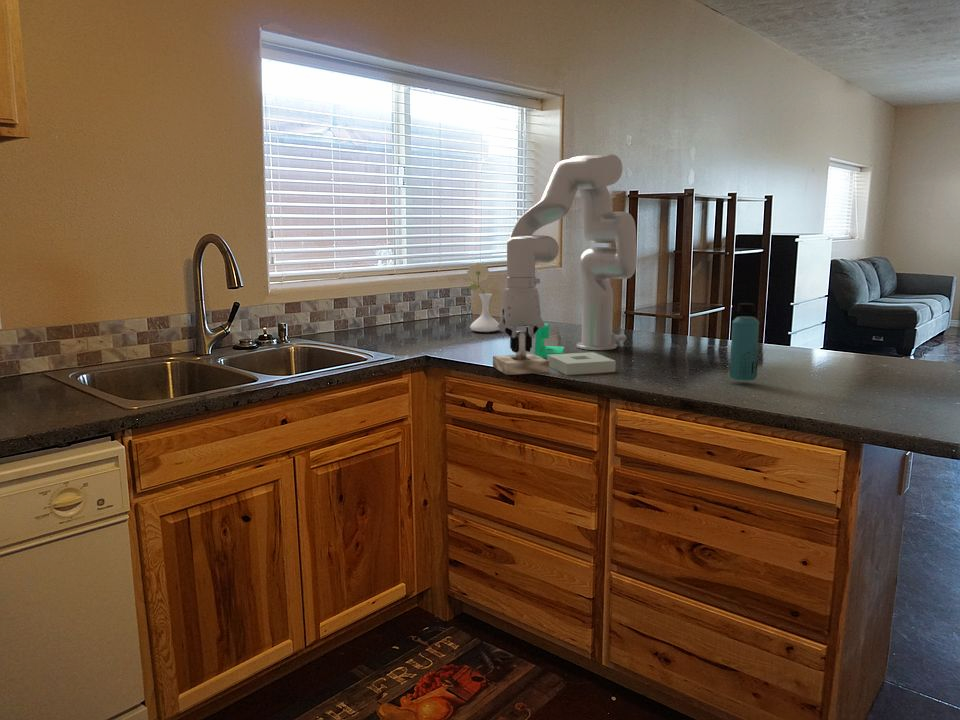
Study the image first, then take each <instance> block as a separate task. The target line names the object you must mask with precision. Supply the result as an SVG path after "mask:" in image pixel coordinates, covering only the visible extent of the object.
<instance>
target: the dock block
mask: <svg viewBox="0 0 960 720" xmlns="http://www.w3.org/2000/svg"><path fill="white" fill-rule="evenodd" d="M546 360H548V361H549V368H552V369H554V370H556V371H558V372H560V373H562V374H564V375H566V376H571V375H586V374H601V373H616V363H617V362H616V361H617V360H614V359H612V358H609V357H608V356H604V355H602V354H600V353H597V352H594V351H592V352H573V353H570V352H569V353H564V354H553V355H547V359H546Z"/></svg>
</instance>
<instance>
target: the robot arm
mask: <svg viewBox="0 0 960 720" xmlns="http://www.w3.org/2000/svg"><path fill="white" fill-rule="evenodd" d="M622 172H623V163H622V160H621V158H620V157H619V156H617V155H616V154H613V153H606V154H587V155H578V156H577V155H576V156H573V157H570V158H567V159H563V160H560V161H558V162H557V163H556V164H555V166H554V168H553V170H552V172H551V175H550V177H549V180H548V182H547V184H546V187H545V188H544V192H543V193H542V196H541V199H540V200H539V201H538V202H537V203H536V204H534V205H533V206H532V207H530V208H529V209H528V210H527V211H526V212H525V213H523V214H522V216H520V217H519V219H517V221H516V223H515V225H514V226H513V228H512V230H511V233H510V236H509V238H508V240H507V242H506V288H504V289H503V293H502V297H501V309H500V320H499V322H498V323H499V324H498V326H497V327H498V328H499V330H501V331H503V332H505V334H507V335H508V337H509V338H510V339H509V346H510V347H509V348H510V349H511V351H512V353H515V354H516V353H517V352H518V338H516V331H518V329H517V327H525V328H524V329H525V331H527V352H528V353H531V349H532V347H533V337H534V335H536V331H537V330H538V329H540V328H542V327H543V326H544V324H545V322H544V321H543V319H542V317H541V304H540V303H541V302H540V295H539V291H538V288H537V285H539V284H540V283H541V279H540V278H537V277H536V264H549V263H551V262H553V261H554V260H556V258H557V257H558V255H559V252H560V251H559V249H560V247H559V244H558V242H557V240H556V239H555V238H554V237H552V236H550V235H541V234H536V235H535V234H534V233H535V232H536V231H538V230H539V229H541V228H542V227H545V226H548V225H550V224H552V223H554V222H557V221H559V220H561V219H563V218H564V217H566V216H567V215H569V212H570V209H571V206H572V204H573V201H574V200H575V197H576V194H577V192H578V193H579V194H580V197H581V202H582V219H583V220H582V222H583V235H584V238H585V240H587V242H590V243H594V244H615V246H616V247H608V246H605V247H604V246H593V247H589V248H587V249H585V250H583V252H582V253H581V255H580V258H579V267H580V273H581V280H582V281H581V283H582V298H581V299H582V301H581V302H582V305H581V307H582V309H581V311H582V312H581V341H579V342H577V343H576V347H577V349H581V350H587V351H609V350H614V349H615V350H616V349H617V346H618V345H617V342H618V341H619V342H623V341H626V340H627V336H626V334H616V333H614V332H613V316H614V315H613V312H614V310H613V309H614V307H613V306H614V291H613V288H612V286H611V283H610V282H609V281H608V279H613V280H628V279H630V278H631V277H632V276H633V275H635V272H636V268H637V229H636V222H635V219H634V218H633V216H632V214H630V213H629V212H627V211H612V205H611V203H612V202H611V194H610V191H609V189H608V188H607V187H608V186H612V185H614V184H616V183H617V182H618V181H619V180H620V179H621V177H622Z"/></svg>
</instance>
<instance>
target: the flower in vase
mask: <svg viewBox="0 0 960 720" xmlns="http://www.w3.org/2000/svg"><path fill="white" fill-rule="evenodd" d="M466 274H467V275H468V277H469V279H471V280H472V281H475V282H477V284H475V283H473V284H471V285H470V286H469V287H467V289H468V290H472V291H477V290H478V289H480V291H481V293H478V296H479V298H480V300H481V305H482V308H481V310H482V311H481V314H480V315H479V317H477V318H476V319H475V320H474V321H473V322H472V323H470V326H469V328H470V329H471V331H475V332H478V333H479V332H480V333H491V332H493V333H494V332H497V331H499V330H500V329H499V328H498V327H497V326H498V324H499V322H498V321H497V320H496V319H495V318H493V316H492V315H491V314H490V312H489V311H490V310H489V309H490V307H489V306H490V300H491V297H492V296H493V293H489V292H488V293H485V292H484V291H486V290H489V289H491V287H492V286H493V284H490V285H488V286H485V287H484V288H483V289H482V288H481V287H480V282H481V281H485V280H488V277H489V275H490V271H489V267H488V266H487V265H484V264H483V263H479V262H477V263H476V262H474V263H473V264H471V265H469V266H468V269H467V271H466Z"/></svg>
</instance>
